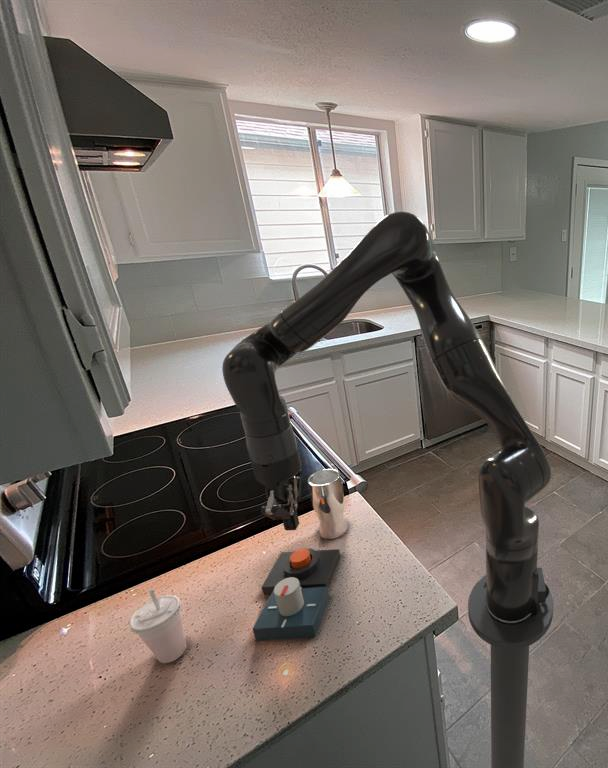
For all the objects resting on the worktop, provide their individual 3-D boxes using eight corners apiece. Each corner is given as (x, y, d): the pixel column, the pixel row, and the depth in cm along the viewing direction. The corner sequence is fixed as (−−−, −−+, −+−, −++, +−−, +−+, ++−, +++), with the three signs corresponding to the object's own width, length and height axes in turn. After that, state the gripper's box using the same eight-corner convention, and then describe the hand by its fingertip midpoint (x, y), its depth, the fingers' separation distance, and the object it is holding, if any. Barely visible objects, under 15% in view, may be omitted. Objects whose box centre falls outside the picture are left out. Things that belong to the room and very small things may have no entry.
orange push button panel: (340, 556, 89) (338, 542, 88) (327, 591, 81) (323, 576, 79) (283, 559, 88) (279, 545, 87) (263, 595, 80) (259, 580, 78)
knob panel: (330, 597, 80) (327, 585, 78) (315, 637, 72) (312, 624, 71) (276, 600, 79) (273, 588, 78) (255, 641, 71) (251, 629, 70)
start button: (313, 554, 85) (312, 548, 84) (307, 568, 82) (305, 561, 81) (295, 555, 85) (294, 549, 84) (288, 569, 81) (286, 562, 81)
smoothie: (203, 646, 70) (179, 586, 65) (158, 679, 65) (129, 617, 60) (185, 628, 73) (161, 569, 68) (141, 658, 68) (111, 598, 63)
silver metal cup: (330, 545, 92) (319, 490, 86) (311, 533, 96) (299, 479, 90) (355, 526, 98) (347, 474, 92) (337, 516, 101) (327, 464, 95)
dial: (284, 598, 76) (278, 577, 74) (307, 595, 76) (301, 574, 74) (275, 617, 72) (269, 595, 70) (299, 615, 73) (294, 593, 71)
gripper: (268, 433, 79) (286, 506, 85) (231, 472, 66) (255, 554, 73) (309, 431, 79) (323, 504, 86) (279, 470, 67) (299, 552, 73)
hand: (292, 527), depth 79 cm, fingers closed
